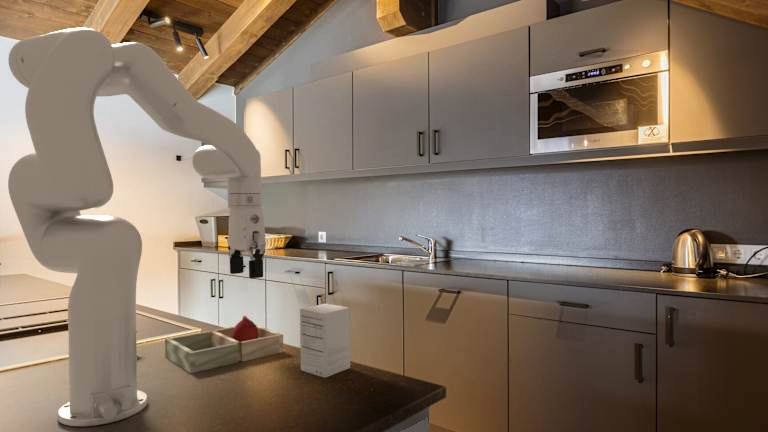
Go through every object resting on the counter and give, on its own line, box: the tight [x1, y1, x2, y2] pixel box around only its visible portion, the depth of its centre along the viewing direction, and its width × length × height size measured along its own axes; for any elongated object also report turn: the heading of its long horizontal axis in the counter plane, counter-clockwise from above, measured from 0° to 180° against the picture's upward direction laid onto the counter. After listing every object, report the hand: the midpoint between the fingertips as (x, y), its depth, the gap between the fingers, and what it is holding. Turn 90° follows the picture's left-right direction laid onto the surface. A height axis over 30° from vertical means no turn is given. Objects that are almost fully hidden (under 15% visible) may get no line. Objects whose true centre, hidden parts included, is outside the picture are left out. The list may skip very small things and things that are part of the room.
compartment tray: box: [164, 324, 284, 374], centre depth 109 cm, size 15×21×4 cm
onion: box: [233, 315, 259, 342], centre depth 112 cm, size 6×6×8 cm
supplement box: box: [299, 303, 351, 379], centre depth 98 cm, size 7×7×13 cm
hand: (246, 275), depth 112 cm, fingers open, 9 cm apart
